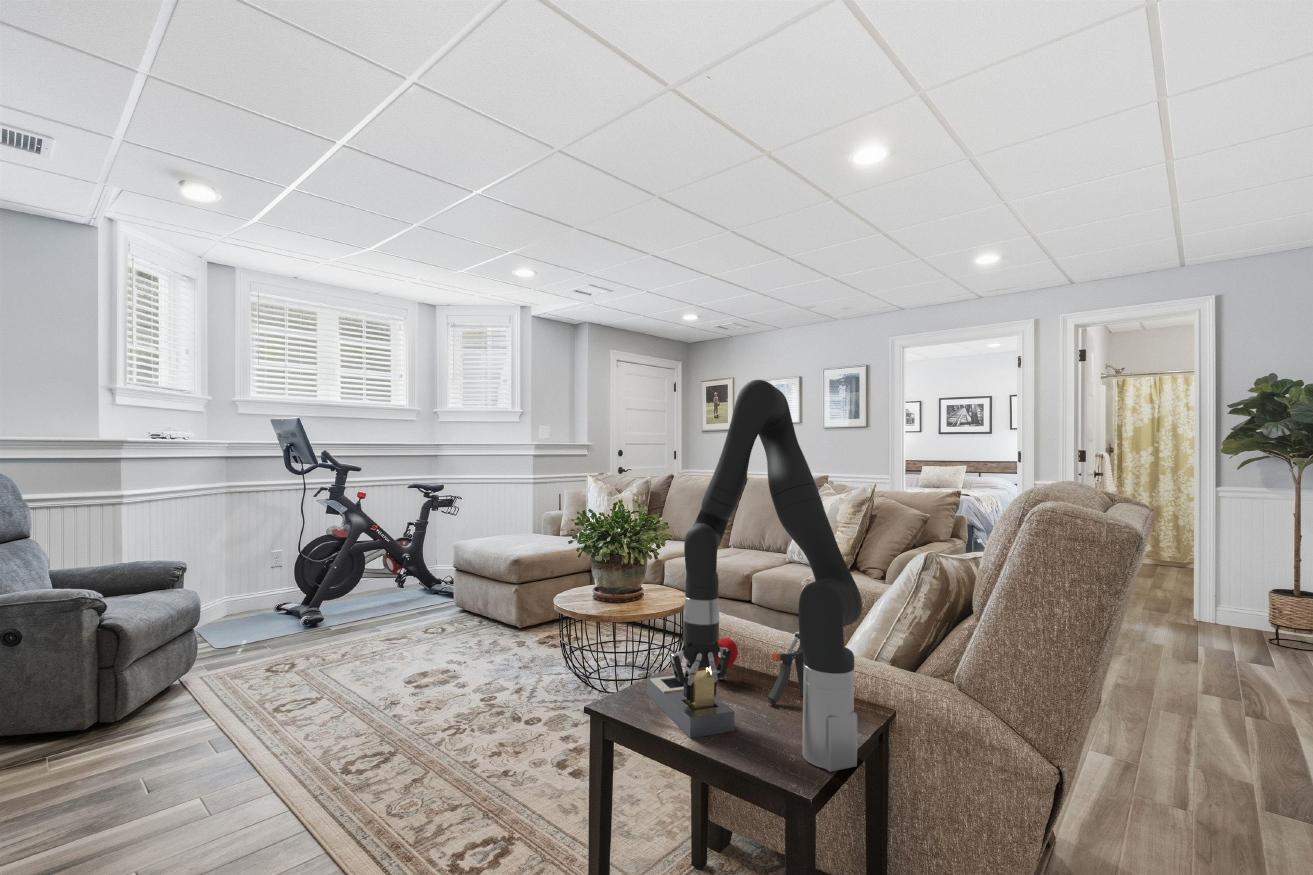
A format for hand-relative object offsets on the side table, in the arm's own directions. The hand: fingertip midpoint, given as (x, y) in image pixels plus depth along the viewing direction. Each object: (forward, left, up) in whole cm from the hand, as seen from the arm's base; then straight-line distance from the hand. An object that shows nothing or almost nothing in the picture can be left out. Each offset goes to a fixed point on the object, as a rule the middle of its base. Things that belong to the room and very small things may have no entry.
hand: (699, 699), depth 130 cm
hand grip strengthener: (+4, -25, -5) cm, 26 cm away
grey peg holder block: (+6, 0, -5) cm, 8 cm away
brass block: (0, 0, -5) cm, 5 cm away
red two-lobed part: (+21, -16, -5) cm, 27 cm away
